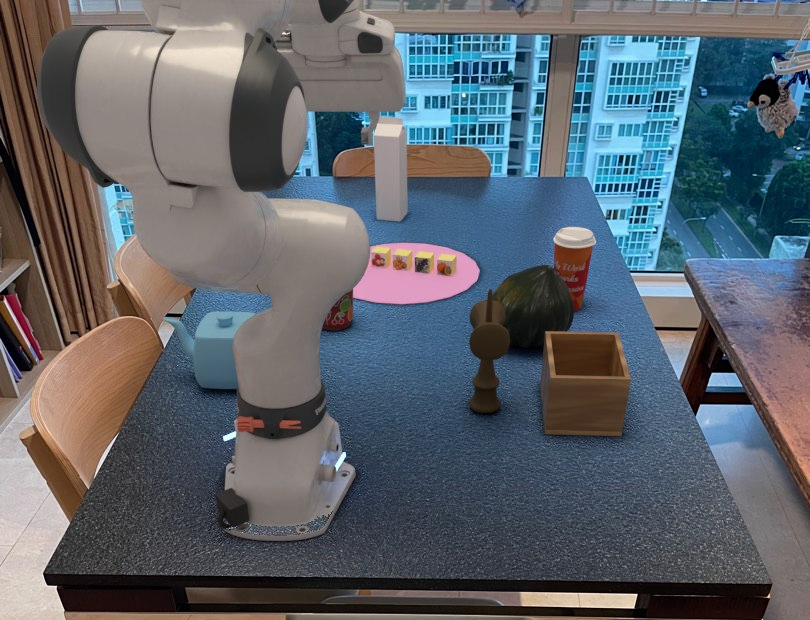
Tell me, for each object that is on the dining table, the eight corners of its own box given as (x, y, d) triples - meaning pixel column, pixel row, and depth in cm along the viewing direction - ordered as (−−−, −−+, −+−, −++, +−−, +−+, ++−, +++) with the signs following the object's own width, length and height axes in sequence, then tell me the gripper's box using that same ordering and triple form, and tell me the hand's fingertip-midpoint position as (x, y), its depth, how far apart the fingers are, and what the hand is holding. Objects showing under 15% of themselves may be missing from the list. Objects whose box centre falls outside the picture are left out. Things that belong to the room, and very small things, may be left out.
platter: (359, 237, 199) (358, 222, 197) (496, 252, 191) (497, 236, 189) (301, 293, 176) (300, 277, 174) (455, 313, 168) (455, 296, 166)
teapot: (184, 358, 155) (172, 297, 148) (284, 361, 154) (277, 299, 147) (164, 394, 146) (150, 330, 138) (271, 397, 144) (263, 332, 137)
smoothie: (351, 335, 161) (345, 227, 148) (307, 332, 163) (297, 224, 150) (362, 316, 167) (357, 210, 155) (319, 313, 169) (311, 207, 156)
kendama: (466, 423, 137) (470, 302, 125) (465, 392, 145) (469, 275, 132) (504, 423, 137) (513, 302, 124) (501, 392, 144) (509, 275, 132)
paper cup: (541, 309, 169) (547, 236, 160) (555, 294, 174) (562, 223, 165) (580, 316, 166) (589, 243, 157) (593, 301, 171) (602, 229, 162)
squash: (469, 297, 161) (498, 255, 146) (542, 286, 165) (577, 246, 151) (490, 369, 159) (521, 335, 145) (563, 357, 163) (600, 322, 149)
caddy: (621, 436, 134) (631, 379, 128) (544, 434, 134) (550, 377, 128) (610, 386, 145) (618, 332, 139) (540, 385, 146) (545, 331, 140)
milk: (384, 211, 212) (380, 112, 198) (408, 213, 211) (406, 114, 197) (376, 220, 208) (372, 119, 194) (400, 222, 206) (398, 121, 192)
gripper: (240, 39, 110) (255, 151, 120) (403, 39, 109) (405, 152, 119) (248, 24, 114) (262, 134, 124) (405, 24, 113) (406, 134, 123)
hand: (333, 143), depth 121 cm, fingers open, 8 cm apart
